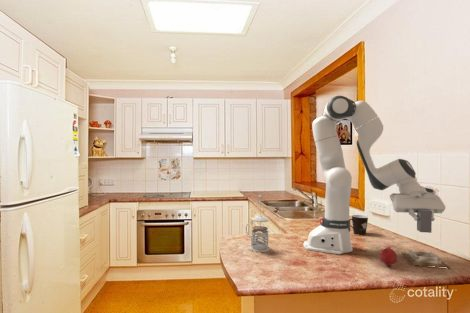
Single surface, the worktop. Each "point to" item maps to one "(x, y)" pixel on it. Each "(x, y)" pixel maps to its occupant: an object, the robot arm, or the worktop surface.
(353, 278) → the worktop surface
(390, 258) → the onion
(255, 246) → the french press
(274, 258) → the worktop surface
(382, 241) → the worktop surface
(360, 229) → the coffee mug
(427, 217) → the plug
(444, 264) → the socket board
